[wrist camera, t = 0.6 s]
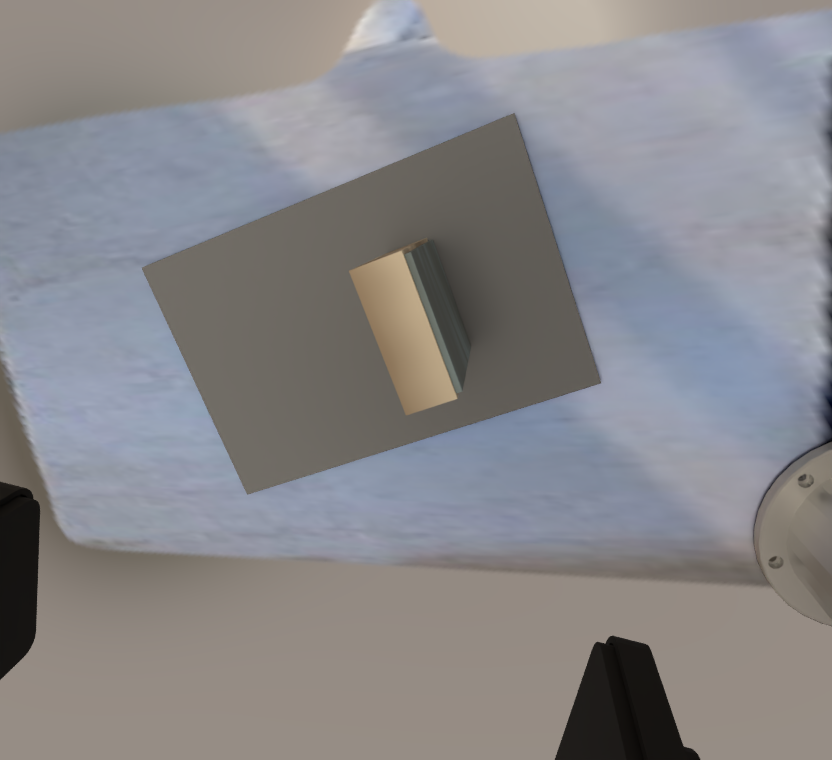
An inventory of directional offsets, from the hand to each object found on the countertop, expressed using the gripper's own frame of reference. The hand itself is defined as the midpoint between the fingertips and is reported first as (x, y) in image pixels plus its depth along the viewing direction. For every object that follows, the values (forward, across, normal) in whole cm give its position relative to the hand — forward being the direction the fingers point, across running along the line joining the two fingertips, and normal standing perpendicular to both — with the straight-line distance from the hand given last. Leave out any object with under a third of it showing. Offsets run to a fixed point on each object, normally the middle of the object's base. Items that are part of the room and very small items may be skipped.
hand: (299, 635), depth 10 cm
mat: (+30, +4, +1) cm, 30 cm away
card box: (+29, +1, -1) cm, 29 cm away
